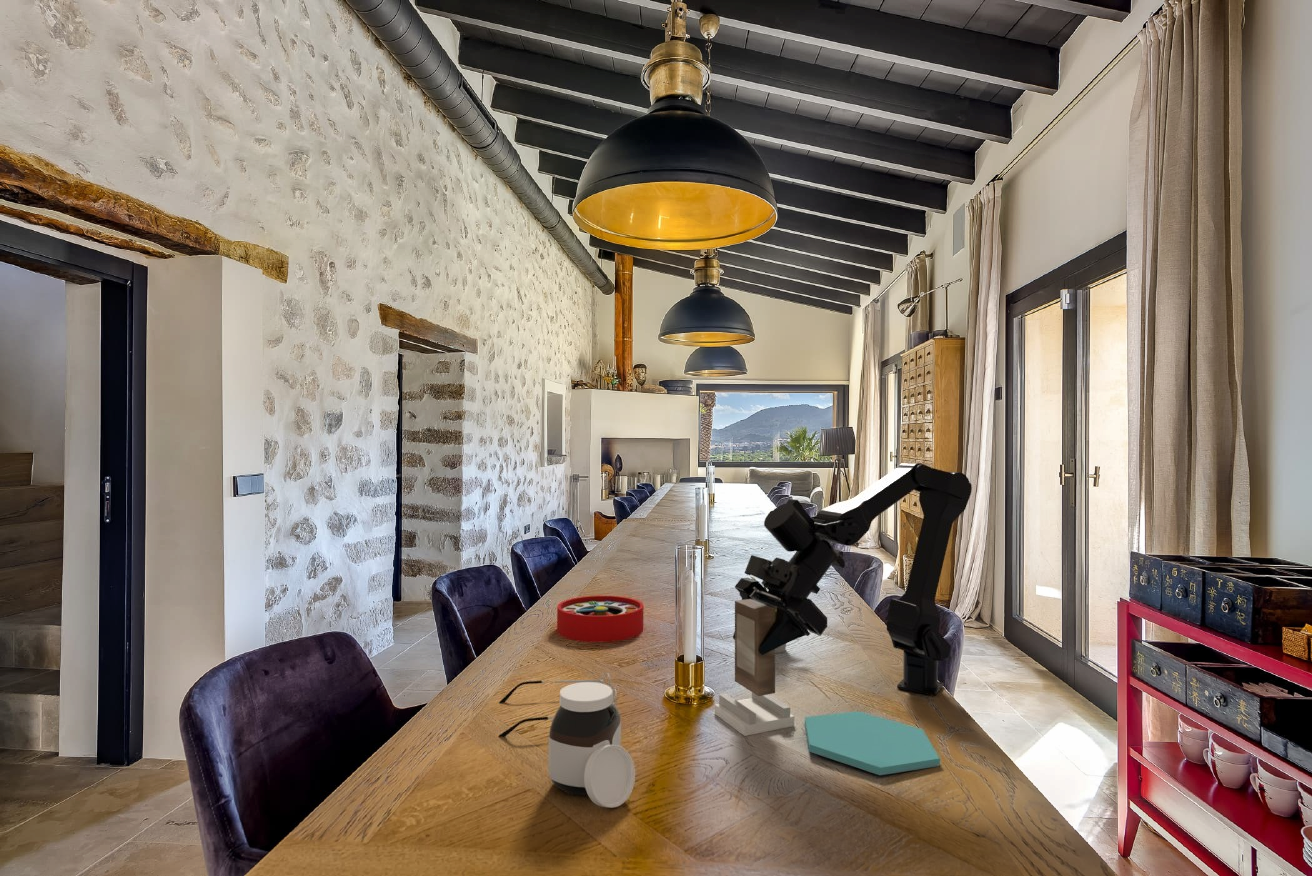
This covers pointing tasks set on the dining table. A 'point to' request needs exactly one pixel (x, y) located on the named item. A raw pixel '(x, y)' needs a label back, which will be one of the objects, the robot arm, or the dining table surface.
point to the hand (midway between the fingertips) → (746, 646)
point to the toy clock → (600, 618)
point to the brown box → (753, 647)
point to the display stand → (754, 713)
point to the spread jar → (590, 746)
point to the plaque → (870, 742)
